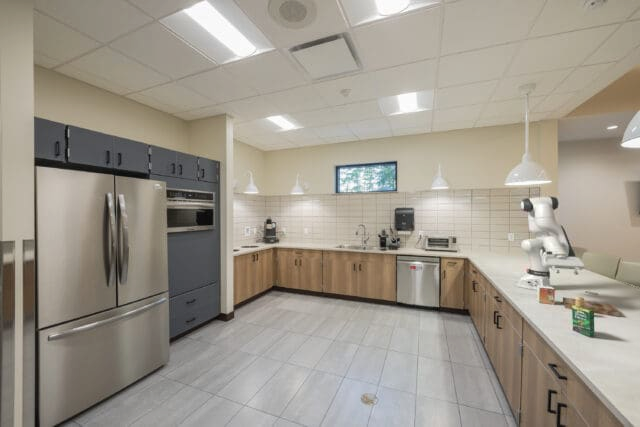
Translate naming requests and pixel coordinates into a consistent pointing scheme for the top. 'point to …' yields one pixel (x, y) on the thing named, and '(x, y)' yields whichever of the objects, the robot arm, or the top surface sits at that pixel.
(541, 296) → the small box
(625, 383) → the top surface
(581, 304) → the oak peg
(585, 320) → the coffee box
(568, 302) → the walnut board
